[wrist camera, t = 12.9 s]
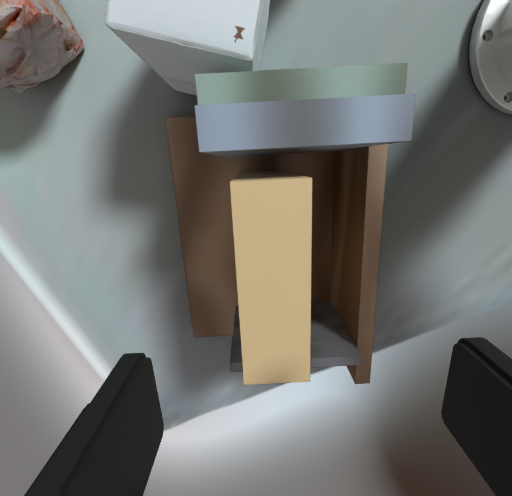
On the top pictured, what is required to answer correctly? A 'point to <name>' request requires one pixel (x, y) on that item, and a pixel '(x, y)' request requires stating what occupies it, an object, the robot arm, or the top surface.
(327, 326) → the shelf
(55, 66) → the food item
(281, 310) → the book
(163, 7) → the supplement box
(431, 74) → the top surface
